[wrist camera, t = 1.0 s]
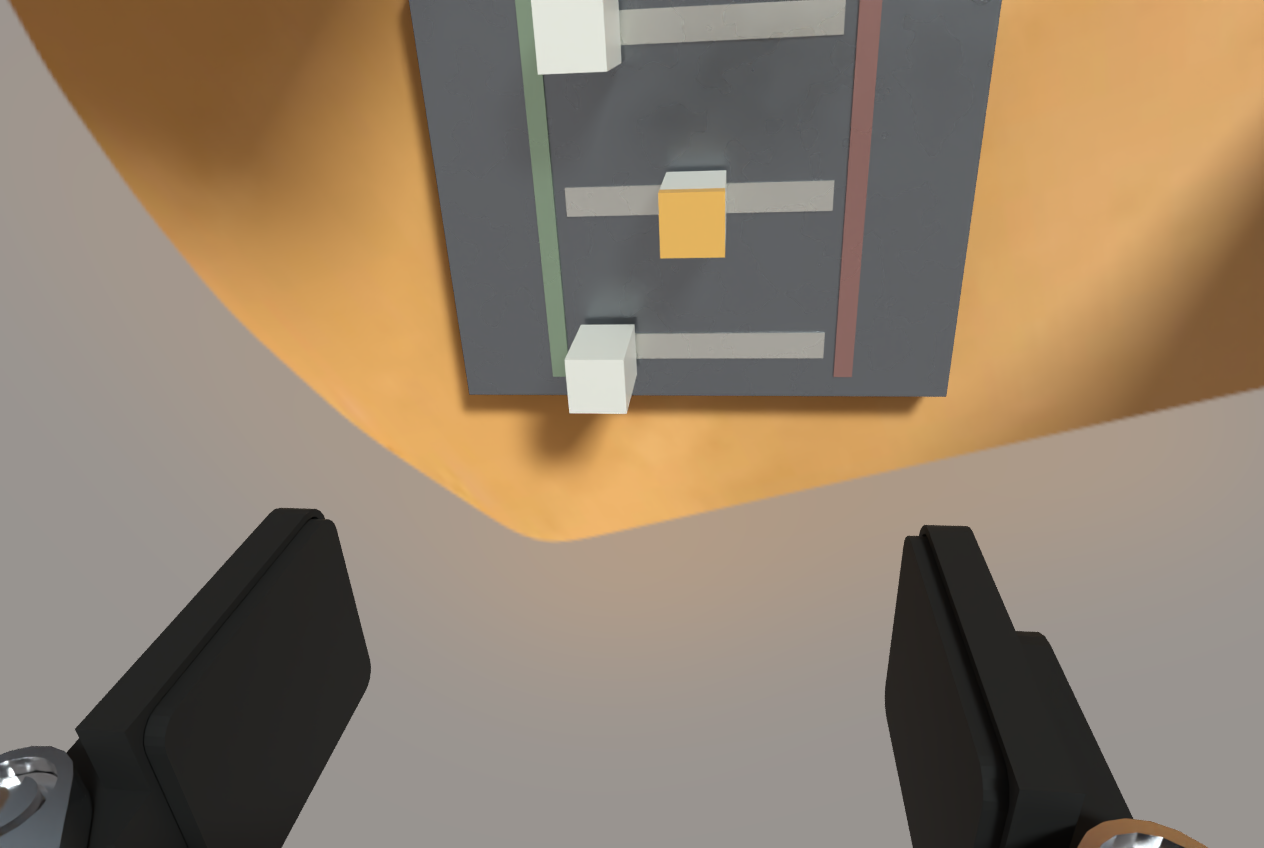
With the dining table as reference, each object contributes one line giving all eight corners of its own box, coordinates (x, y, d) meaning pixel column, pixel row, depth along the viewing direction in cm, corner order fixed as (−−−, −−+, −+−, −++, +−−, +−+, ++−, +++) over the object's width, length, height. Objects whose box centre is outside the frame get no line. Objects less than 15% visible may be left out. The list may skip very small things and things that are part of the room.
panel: (995, -69, 30) (1012, -73, 28) (936, 378, 38) (946, 397, 37) (421, -33, 33) (402, -35, 31) (480, 377, 41) (468, 395, 39)
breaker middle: (726, 170, 33) (725, 191, 29) (726, 230, 34) (724, 257, 30) (666, 172, 33) (658, 193, 30) (668, 231, 34) (660, 258, 31)
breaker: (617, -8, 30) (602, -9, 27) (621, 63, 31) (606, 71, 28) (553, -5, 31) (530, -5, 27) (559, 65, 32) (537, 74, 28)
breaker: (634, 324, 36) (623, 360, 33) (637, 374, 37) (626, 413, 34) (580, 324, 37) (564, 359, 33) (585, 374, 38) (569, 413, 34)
